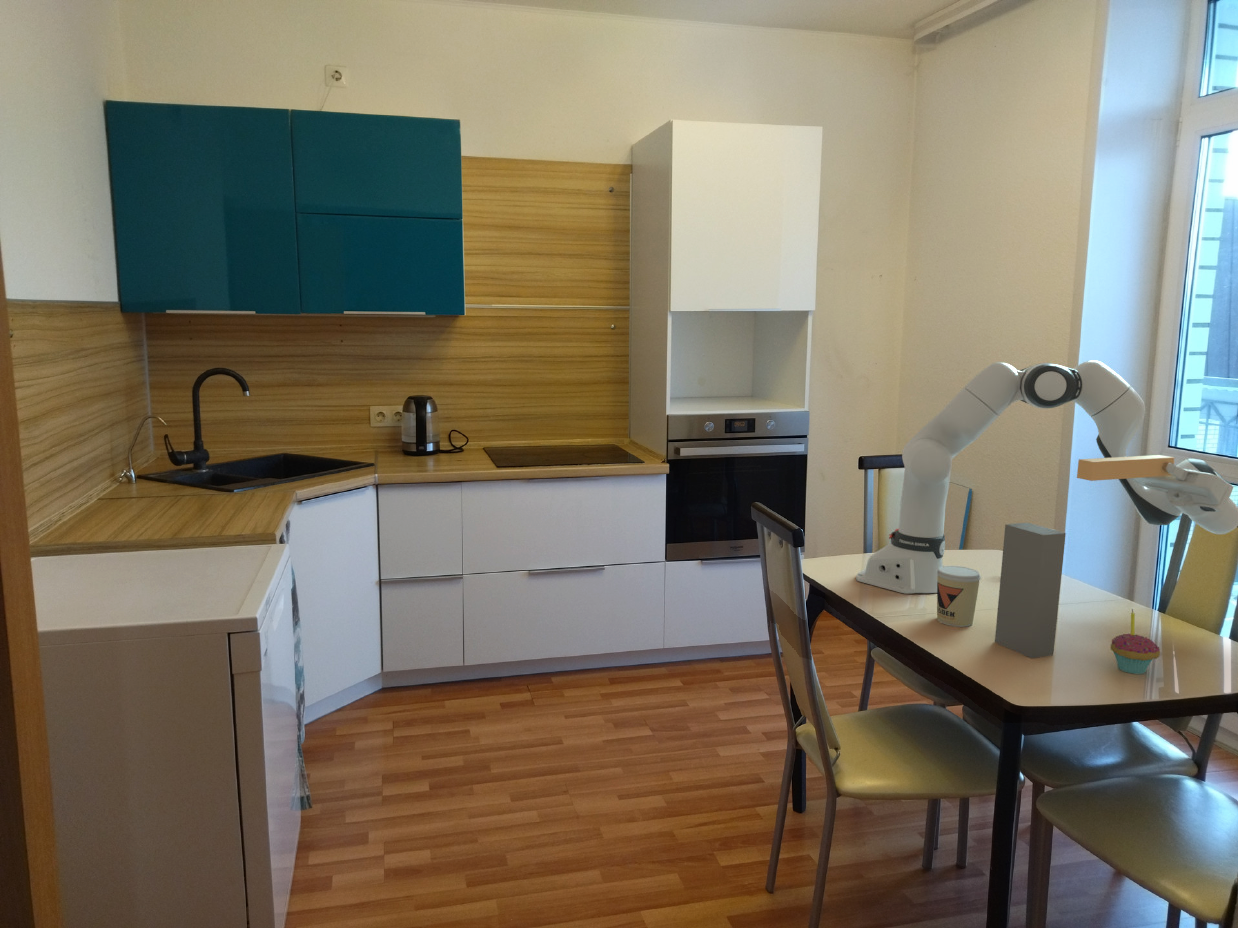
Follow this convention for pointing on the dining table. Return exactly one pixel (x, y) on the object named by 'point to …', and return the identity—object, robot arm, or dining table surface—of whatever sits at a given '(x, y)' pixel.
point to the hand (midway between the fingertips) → (1155, 463)
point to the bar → (1123, 467)
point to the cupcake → (1134, 651)
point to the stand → (1029, 589)
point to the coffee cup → (957, 595)
